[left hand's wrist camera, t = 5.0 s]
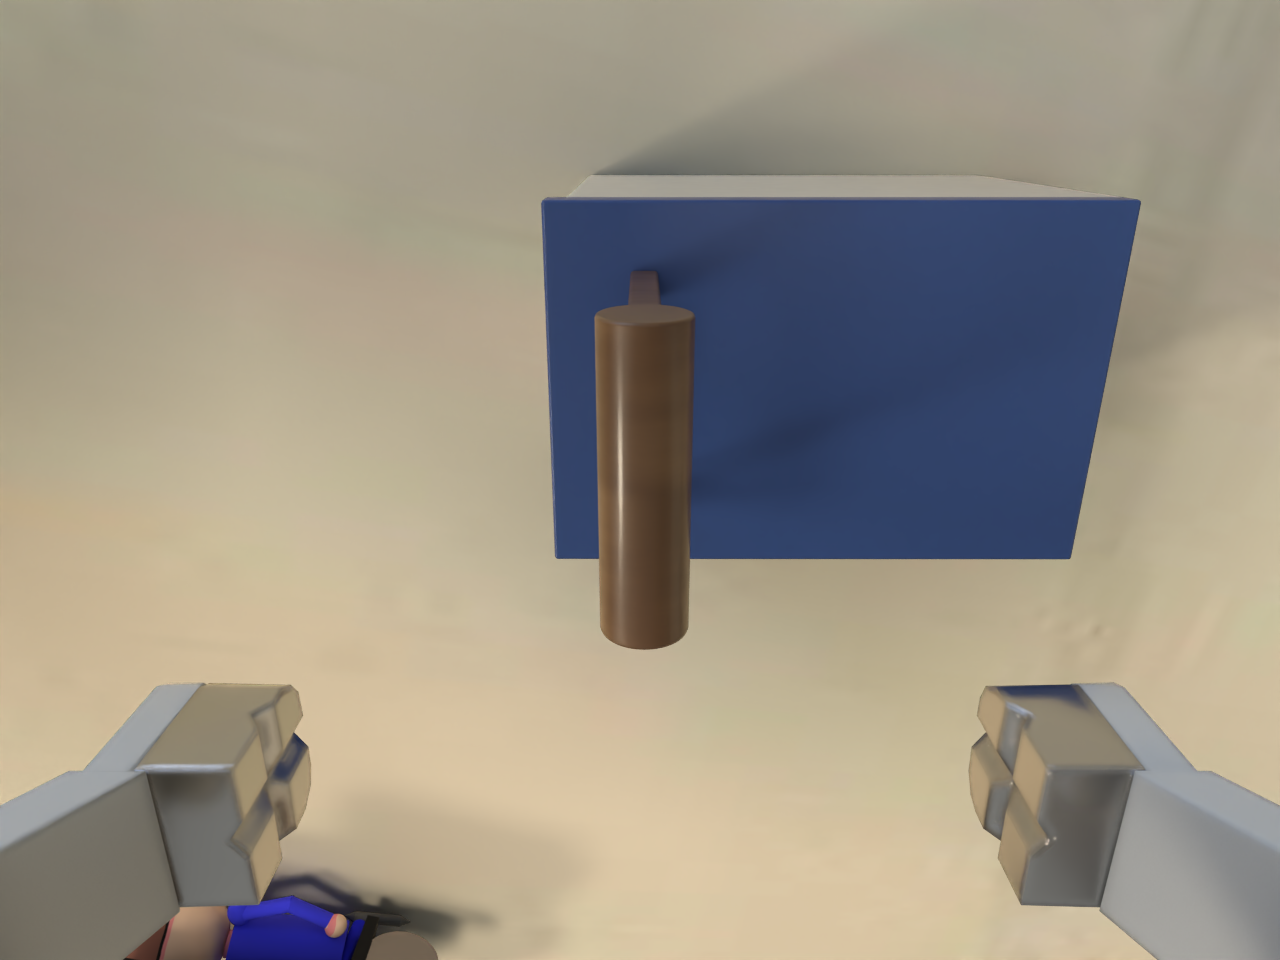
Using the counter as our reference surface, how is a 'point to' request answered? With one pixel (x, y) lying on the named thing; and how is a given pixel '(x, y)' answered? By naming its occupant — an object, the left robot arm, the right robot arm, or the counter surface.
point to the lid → (820, 381)
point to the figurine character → (280, 935)
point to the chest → (815, 186)
